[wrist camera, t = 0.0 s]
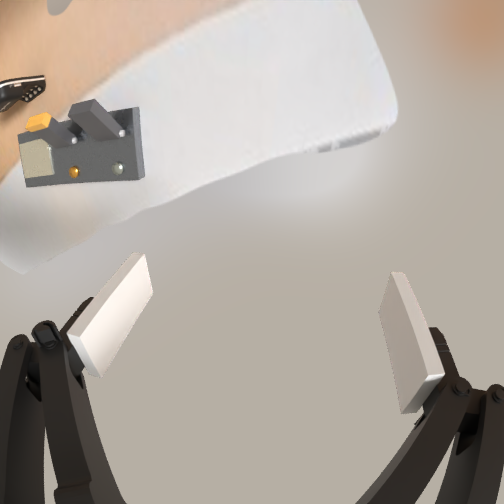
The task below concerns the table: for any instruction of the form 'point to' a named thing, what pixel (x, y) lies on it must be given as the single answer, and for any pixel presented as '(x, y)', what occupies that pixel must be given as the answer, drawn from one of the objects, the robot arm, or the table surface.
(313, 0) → the table surface
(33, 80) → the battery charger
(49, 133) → the lever
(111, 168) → the panel
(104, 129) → the lever
